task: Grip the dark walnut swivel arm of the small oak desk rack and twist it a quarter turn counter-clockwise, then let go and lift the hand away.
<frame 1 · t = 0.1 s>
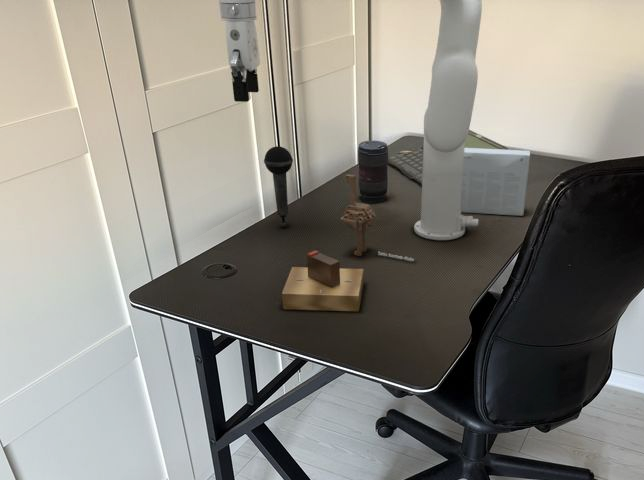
hand: (247, 96, 149), 31 cm above the table, tool pointing down, fingers open, 9 cm apart
skincare box: (483, 211, 177), on the table
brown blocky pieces: (379, 257, 151), on the table
swivel arm: (323, 268, 132), point 6 cm above the table, hinge at -40.0°
camera lens: (373, 199, 184), on the table
microphone: (284, 227, 166), on the table
computer keyboard: (443, 172, 204), on the table
rack base: (324, 296, 135), on the table
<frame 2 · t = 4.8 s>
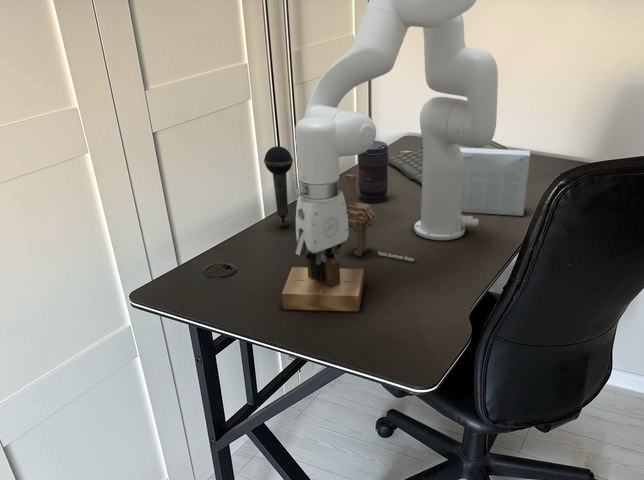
hand: (323, 276, 133), 4 cm above the table, tool pointing down, fingers closed on swivel arm, 2 cm apart
swivel arm: (323, 268, 132), point 6 cm above the table, hinge at -40.0°, touching gripper
everything else where it was.
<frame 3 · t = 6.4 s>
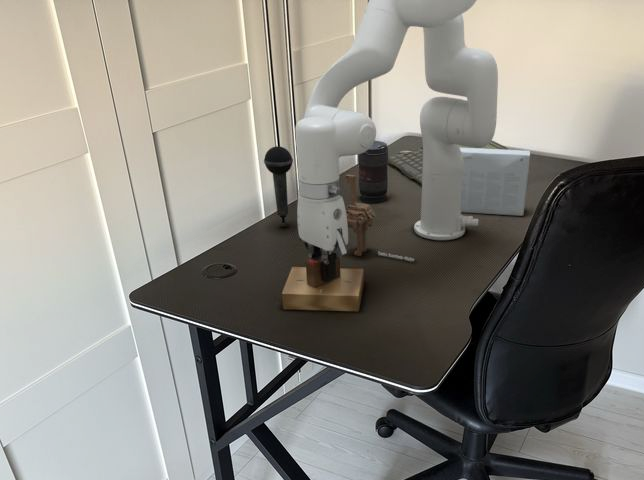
hand: (323, 276, 133), 4 cm above the table, tool pointing down, fingers closed on swivel arm, 2 cm apart
swivel arm: (323, 268, 132), point 6 cm above the table, hinge at 50.0°, touching gripper
everything else where it was.
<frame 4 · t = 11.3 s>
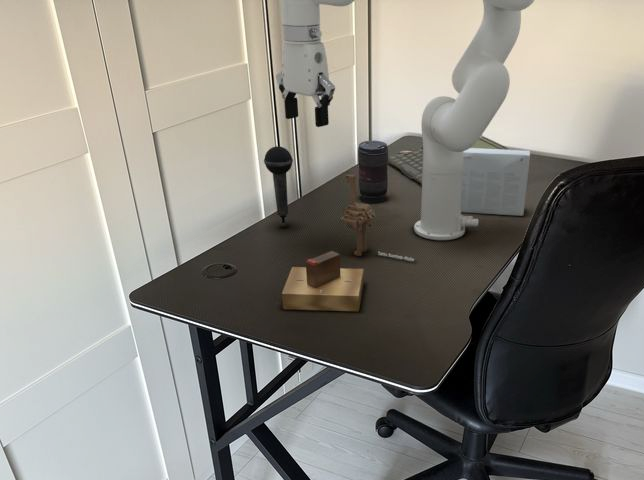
hand: (306, 121, 142), 28 cm above the table, tool pointing down, fingers open, 9 cm apart
swivel arm: (323, 268, 132), point 6 cm above the table, hinge at 49.9°
everything else where it was.
at the end: swivel arm at +50° (first picture: -40°); the gripper is holding nothing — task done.
